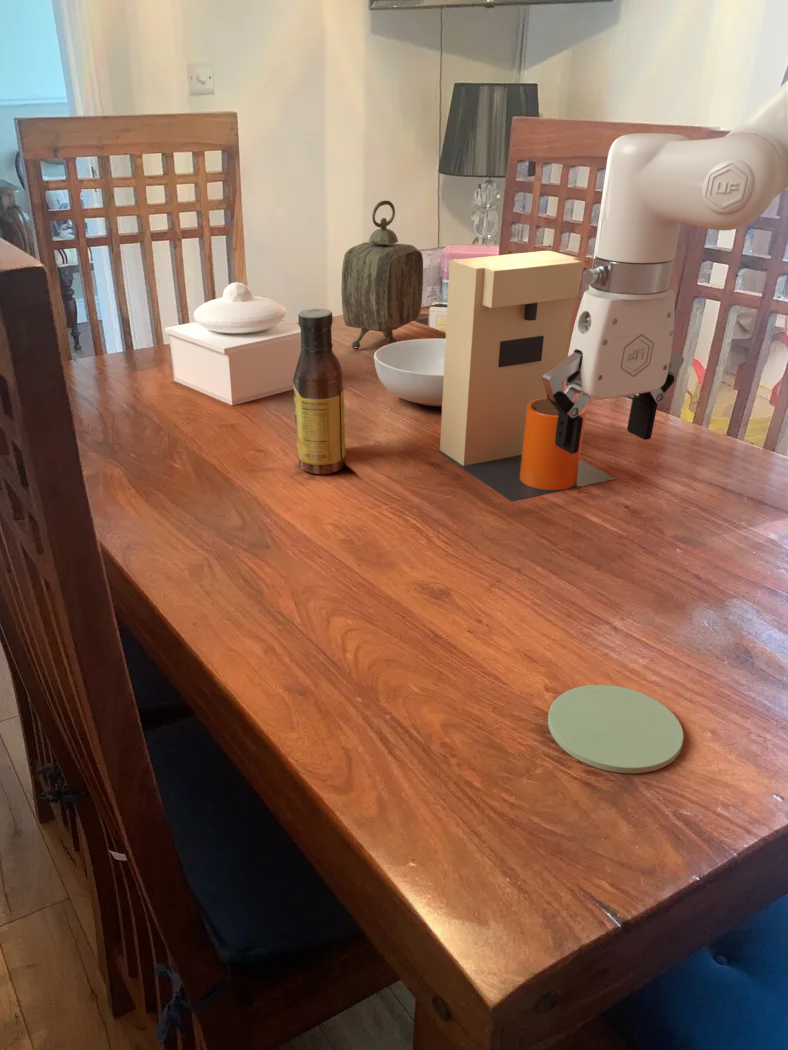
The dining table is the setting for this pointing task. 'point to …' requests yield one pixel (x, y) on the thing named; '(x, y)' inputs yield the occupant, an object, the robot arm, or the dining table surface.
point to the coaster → (615, 729)
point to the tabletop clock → (381, 282)
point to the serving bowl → (413, 370)
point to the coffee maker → (504, 360)
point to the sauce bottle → (319, 397)
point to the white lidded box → (236, 347)
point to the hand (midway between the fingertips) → (602, 442)
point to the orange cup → (547, 449)
